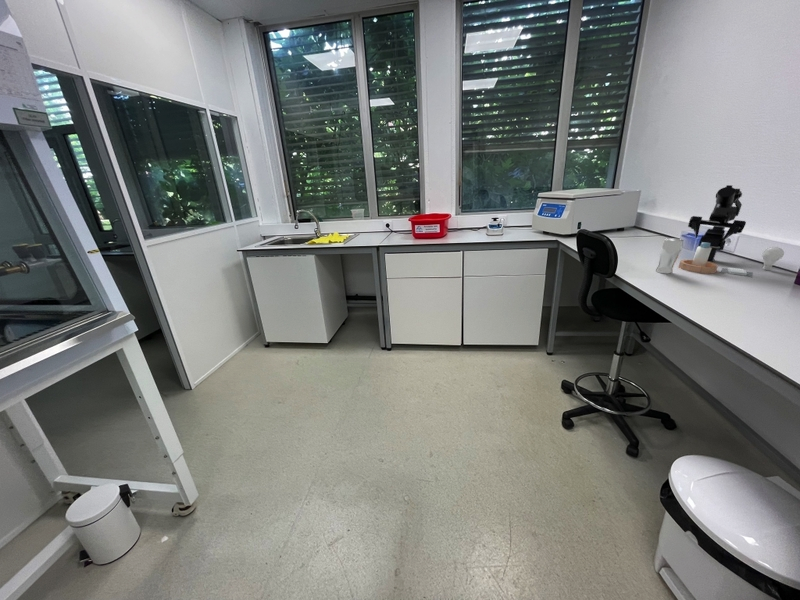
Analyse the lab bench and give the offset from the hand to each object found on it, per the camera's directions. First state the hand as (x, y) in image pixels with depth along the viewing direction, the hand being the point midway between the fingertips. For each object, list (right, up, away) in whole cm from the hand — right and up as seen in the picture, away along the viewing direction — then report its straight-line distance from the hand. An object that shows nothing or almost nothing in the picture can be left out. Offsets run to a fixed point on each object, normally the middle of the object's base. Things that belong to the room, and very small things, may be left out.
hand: (709, 239), depth 146 cm
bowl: (-4, -14, +2) cm, 14 cm away
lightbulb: (+25, -15, -1) cm, 29 cm away
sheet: (+9, -16, -4) cm, 18 cm away
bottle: (-4, -13, +2) cm, 14 cm away
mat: (+9, -16, -4) cm, 19 cm away
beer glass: (-21, -15, 0) cm, 26 cm away
